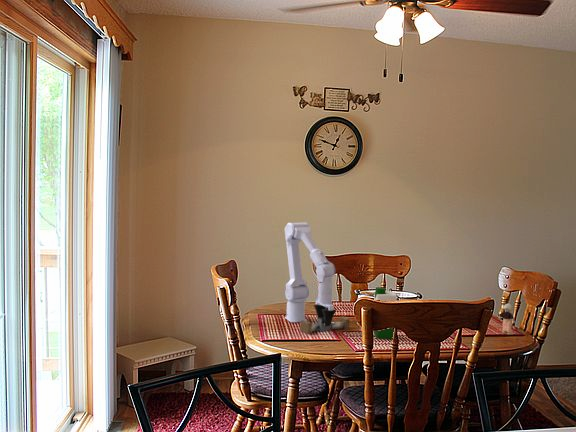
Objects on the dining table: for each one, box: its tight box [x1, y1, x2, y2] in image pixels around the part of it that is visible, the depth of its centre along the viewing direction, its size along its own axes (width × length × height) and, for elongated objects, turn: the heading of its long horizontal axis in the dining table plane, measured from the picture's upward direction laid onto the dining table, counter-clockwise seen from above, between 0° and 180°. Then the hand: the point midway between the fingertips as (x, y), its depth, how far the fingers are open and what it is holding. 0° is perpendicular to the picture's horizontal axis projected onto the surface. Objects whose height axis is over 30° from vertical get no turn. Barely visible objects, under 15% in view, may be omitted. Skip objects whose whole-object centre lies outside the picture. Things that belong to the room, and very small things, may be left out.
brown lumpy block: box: [299, 321, 320, 335], centre depth 243 cm, size 8×5×4 cm, turn 129°
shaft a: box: [330, 316, 350, 331], centre depth 248 cm, size 8×5×4 cm, turn 109°
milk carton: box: [373, 286, 398, 340], centre depth 237 cm, size 9×9×20 cm
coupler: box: [317, 317, 331, 332], centre depth 246 cm, size 4×4×5 cm
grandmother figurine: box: [498, 303, 516, 335], centre depth 247 cm, size 8×4×13 cm, turn 46°
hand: (324, 323), depth 246 cm, fingers open, 7 cm apart
